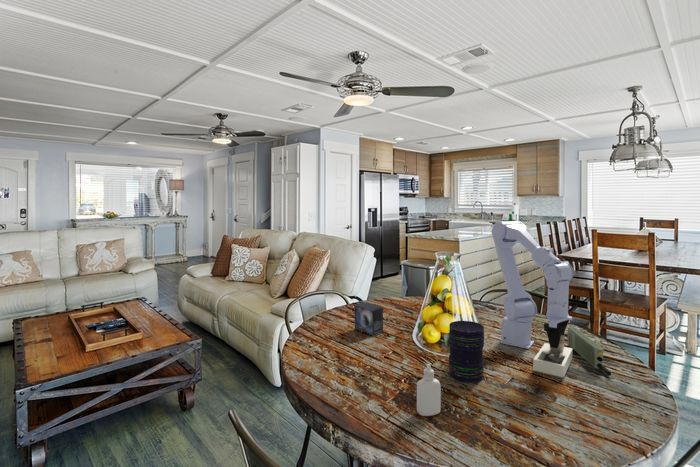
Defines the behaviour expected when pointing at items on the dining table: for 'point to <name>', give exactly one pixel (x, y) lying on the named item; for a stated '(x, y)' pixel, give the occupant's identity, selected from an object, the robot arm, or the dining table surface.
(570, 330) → the handheld radio
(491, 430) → the dining table surface
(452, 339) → the storage jar
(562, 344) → the keyhole peg
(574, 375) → the dining table surface
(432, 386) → the eye dropper bottle
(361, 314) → the small box
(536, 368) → the white hollow rectangular frame
